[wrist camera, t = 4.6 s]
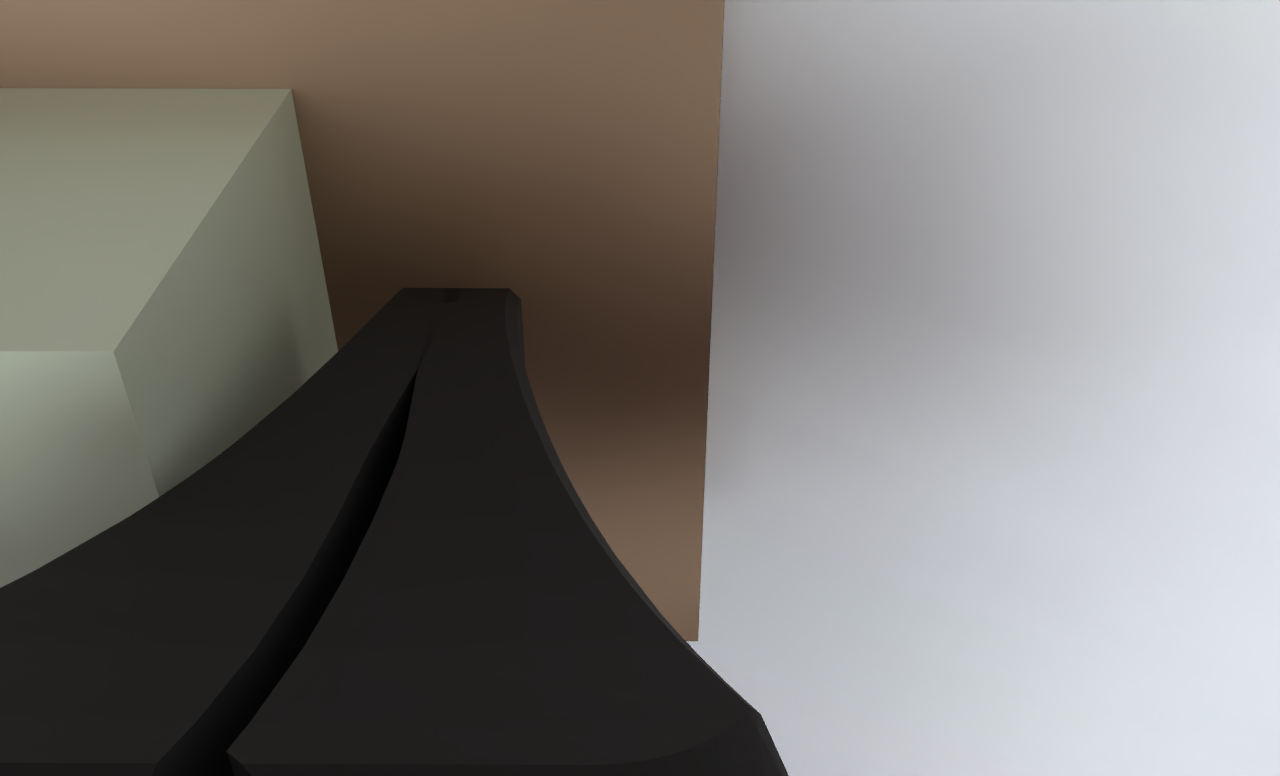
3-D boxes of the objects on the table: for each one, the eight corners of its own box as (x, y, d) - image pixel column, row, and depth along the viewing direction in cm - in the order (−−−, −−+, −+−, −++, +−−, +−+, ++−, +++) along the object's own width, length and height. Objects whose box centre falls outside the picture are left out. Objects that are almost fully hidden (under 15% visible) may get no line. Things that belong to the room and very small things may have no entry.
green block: (363, 492, 14) (261, 826, 10) (-55, 491, 14) (-308, 825, 10) (291, 88, 11) (113, 351, 7) (-238, 87, 11) (-688, 349, 7)
